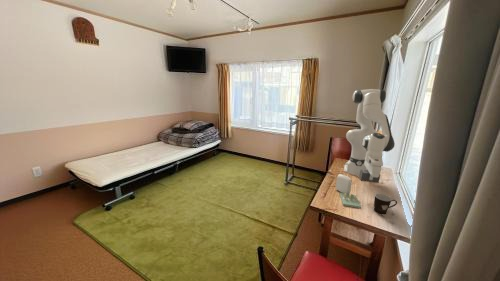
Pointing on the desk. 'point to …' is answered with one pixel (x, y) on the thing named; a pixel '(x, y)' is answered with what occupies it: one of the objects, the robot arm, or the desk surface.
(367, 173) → the block
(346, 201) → the board
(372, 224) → the desk surface
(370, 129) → the robot arm
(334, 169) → the desk surface
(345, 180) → the photo printer
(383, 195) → the coffee mug
